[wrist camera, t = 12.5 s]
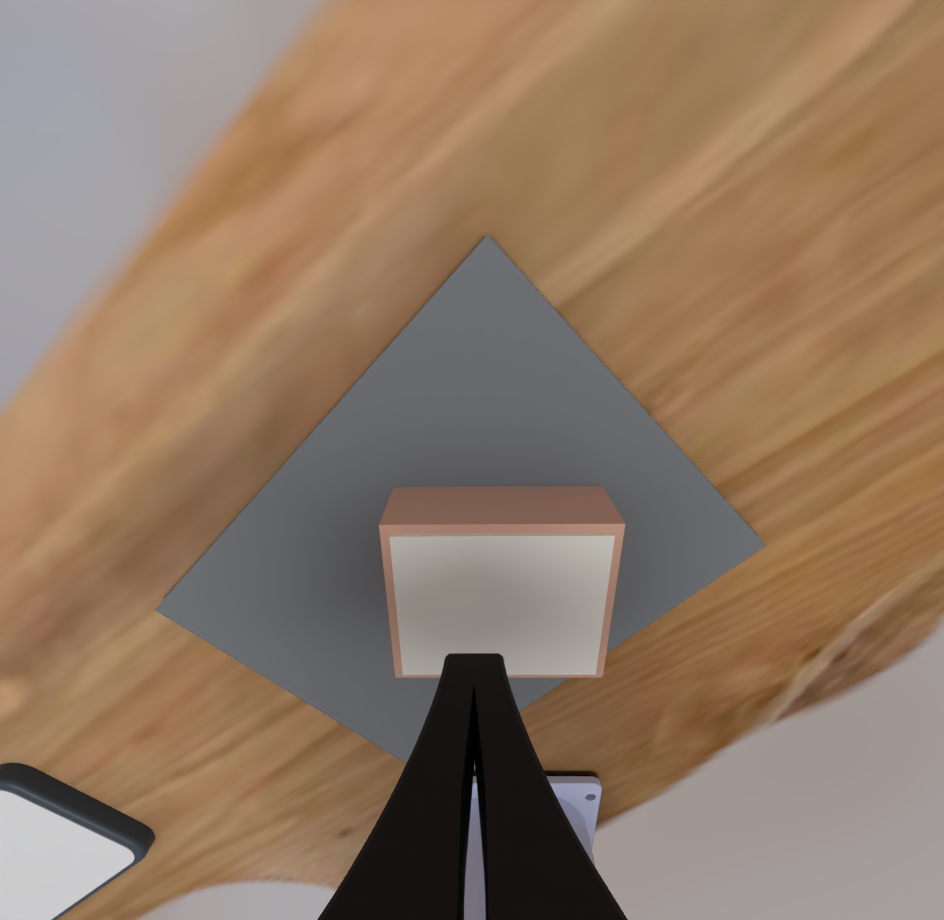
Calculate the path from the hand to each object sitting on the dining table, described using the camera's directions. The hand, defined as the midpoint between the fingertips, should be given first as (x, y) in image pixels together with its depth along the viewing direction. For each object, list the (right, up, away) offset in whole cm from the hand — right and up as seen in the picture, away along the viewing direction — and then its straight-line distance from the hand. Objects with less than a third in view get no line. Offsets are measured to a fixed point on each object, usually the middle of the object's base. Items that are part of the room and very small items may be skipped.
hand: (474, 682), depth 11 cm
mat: (-1, +1, +6) cm, 6 cm away
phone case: (-26, -16, +14) cm, 34 cm away
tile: (-3, +1, +4) cm, 5 cm away
